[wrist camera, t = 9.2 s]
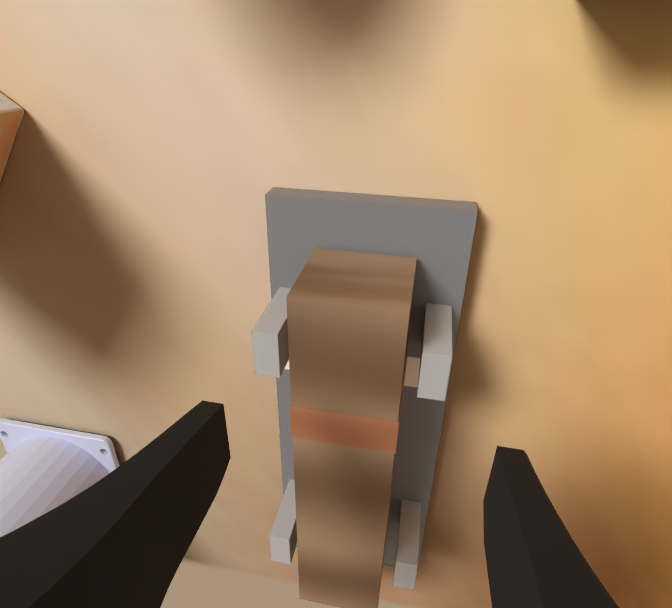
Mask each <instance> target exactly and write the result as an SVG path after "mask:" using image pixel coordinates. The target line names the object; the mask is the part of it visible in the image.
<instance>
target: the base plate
mask: <svg viewBox="0 0 672 608" xmlns="http://www.w3.org/2000/svg"><path fill="white" fill-rule="evenodd" d="M265 200H266V216H267V233H268V249H269V265H270V282H271V298H272V300H271V301H270V303H269V304H268V306H267V307H266V309H265V311H264V312H263V314H262V315H261V317H260V318H259V320H258V321H257V323H256V324H255V326H254V327H253V329H252V331H251V334H252V345H253V356H254V368H255V374H256V375H263V376H270V377H276V380H277V396H278V412H279V429H280V445H281V462H282V478H283V494H284V496H283V499H282V502H281V505H280V508H279V510H278V513H277V516H276V519H275V522H274V525H273V528H272V530H271V533H270V536H269V537H270V548H271V559H272V561H276V562H281V563H285V564H290V565H291V561H292V558H293V554H294V551H295V548H296V547H297V525H296V503H295V480H294V458H293V437H291V428H290V407H289V406H290V403H291V391H290V369H289V347H288V325H287V302H286V296H287V295H288V293H289V291H290V290H291V288H292V286H293V284H294V283H295V281H296V279H297V278H298V276H299V274H300V273H301V271H302V269H303V267H304V266H305V264H306V262H307V261H308V259H309V257H310V256H311V254H312V252H313V250H314V249H315V248H323V249H334V250H344V251H354V252H365V253H375V254H385V255H396V256H406V257H417V261H416V270H415V279H414V288H413V297H412V306H411V316H410V325H409V334H408V343H407V352H406V356H407V363H406V372H405V381H404V389H403V397H402V405H401V413H400V422H399V430H398V438H397V446H396V454H395V461H394V471H393V480H392V489H391V498H390V507H389V516H388V525H387V534H386V543H385V552H384V560H383V564H385V565H390V566H395V570H394V581H393V586H396V587H401V588H406V589H411V590H414V584H415V578H416V572H417V571H418V566H419V560H420V554H421V548H422V542H423V536H424V530H425V524H426V518H427V512H428V506H429V500H430V494H431V488H432V482H433V476H434V470H435V464H436V458H437V452H438V446H439V440H440V434H441V428H442V422H443V416H444V410H445V404H446V398H447V392H448V386H449V380H450V374H451V369H452V363H453V357H454V351H455V345H456V339H457V333H458V327H459V321H460V315H461V309H462V303H463V297H464V291H465V285H466V279H467V273H468V267H469V261H470V255H471V249H472V243H473V237H474V231H475V225H476V219H477V213H478V209H477V203H476V202H465V201H451V200H437V199H424V198H410V197H397V196H383V195H370V194H356V193H343V192H329V191H315V190H302V189H288V188H275V187H273V188H272V189H271V190H270V191H269V192H268V193H266V194H265Z"/></svg>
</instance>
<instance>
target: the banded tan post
mask: <svg viewBox="0 0 672 608" xmlns="http://www.w3.org/2000/svg"><path fill="white" fill-rule="evenodd" d="M416 261H417V257H406V256H396V255H385V254H375V253H365V252H354V251H344V250H334V249H323V248H315V249H314V250H313V252H312V254H311V256H310V257H309V259H308V261H307V262H306V264H305V266H304V267H303V269H302V271H301V273H300V274H299V276H298V278H297V279H296V281H295V283H294V284H293V286H292V288H291V290H290V291H289V293H288V295H287V296H286V302H287V325H288V347H289V369H290V391H291V403H290V406H289V407H290V428H291V437H293V458H294V480H295V503H296V525H297V547H298V569H299V591H300V599H304V600H308V601H313V602H317V603H322V604H326V605H331V606H335V607H340V608H378V601H379V593H380V585H381V576H382V568H383V560H384V552H385V543H386V534H387V525H388V516H389V507H390V498H391V489H392V480H393V471H394V461H395V454H396V446H397V438H398V430H399V422H400V413H401V405H402V397H403V389H404V381H405V372H406V363H407V356H406V352H407V343H408V334H409V325H410V316H411V306H412V297H413V288H414V279H415V270H416Z"/></svg>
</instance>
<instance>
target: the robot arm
mask: <svg viewBox="0 0 672 608" xmlns="http://www.w3.org/2000/svg"><path fill="white" fill-rule="evenodd" d="M0 438H1V440H2V442H3V445H4V447H5V449H6V451H7V454H6V455H5V456H4V457H3V458H2V459H1V460H0V608H160V607H161V604H162V602H163V599H164V597H165V595H166V592H167V589H168V587H169V585H170V583H171V581H172V579H173V577H174V575H175V573H176V571H177V569H178V567H179V565H180V563H181V561H182V559H183V557H184V555H185V554H186V552H187V550H188V548H189V546H190V544H191V542H192V540H193V538H194V536H195V535H196V533H197V531H198V529H199V527H200V525H201V523H202V521H203V519H204V517H205V516H206V514H207V512H208V510H209V508H210V506H211V504H212V502H213V500H214V498H215V496H216V494H217V492H218V489H219V487H220V484H221V482H222V479H223V477H224V474H225V471H226V469H227V466H228V463H229V460H230V458H231V457H230V450H229V442H228V435H227V428H226V420H225V413H224V405H223V404H220V403H214V402H207V401H202V402H200V403H199V404H198V405H196V406H195V407H194V408H193V409H191V410H190V411H189V412H188V413H186V414H185V415H184V416H183V417H182V418H180V419H179V420H178V421H177V422H176V423H174V424H173V425H172V426H171V427H169V428H168V429H167V430H166V431H164V432H163V433H162V434H161V435H160V436H158V437H157V438H156V439H154V440H153V441H152V442H151V443H149V444H148V445H147V446H146V447H144V448H143V449H142V450H140V451H139V452H138V453H137V454H135V455H134V456H133V457H131V458H130V459H129V460H127V461H126V462H124V463H123V464H122V465H119V462H118V459H117V455H116V452H115V449H114V445H113V442H112V440H111V439H110V438H108V437H106V436H102V435H97V434H91V433H85V432H79V431H73V430H68V429H62V428H56V427H50V426H45V425H39V424H33V423H27V422H21V421H16V420H10V419H3V418H1V419H0ZM483 502H484V545H485V554H486V562H487V570H488V578H489V585H490V593H491V601H492V608H619V607H618V606H617V604H616V603H615V602H614V600H613V599H612V597H611V596H610V595H609V593H608V592H607V590H606V589H605V588H604V586H603V585H602V583H601V582H600V580H599V579H598V578H597V576H596V575H595V573H594V572H593V570H592V569H591V567H590V566H589V564H588V563H587V561H586V560H585V558H584V557H583V555H582V553H581V552H580V550H579V549H578V547H577V546H576V544H575V542H574V541H573V539H572V538H571V536H570V534H569V532H568V531H567V529H566V527H565V526H564V524H563V522H562V521H561V519H560V517H559V516H558V514H557V512H556V510H555V509H554V507H553V505H552V503H551V501H550V500H549V498H548V496H547V494H546V492H545V490H544V488H543V487H542V485H541V483H540V481H539V479H538V477H537V475H536V473H535V471H534V469H533V467H532V465H531V462H530V460H529V458H528V456H527V454H526V453H525V452H524V451H523V450H519V449H513V448H506V447H500V446H497V450H496V453H495V457H494V461H493V465H492V469H491V473H490V477H489V481H488V485H487V489H486V493H485V497H484V501H483Z"/></svg>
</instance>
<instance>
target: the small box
mask: <svg viewBox="0 0 672 608" xmlns="http://www.w3.org/2000/svg"><path fill="white" fill-rule="evenodd" d="M23 115H24V110H23V108H21V107H20V106H18V105H17V104H16V103H14V102H13V101H12V100H10V99H9V98H8V97H6V96H5V95H4V94H2V93H1V92H0V182H1V179H2V176H3V173H4V170H5V167H6V164H7V161H8V158H9V155H10V152H11V149H12V146H13V143H14V140H15V136H16V133H17V130H18V128H19V127H20V124H21V121H22V118H23Z"/></svg>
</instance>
